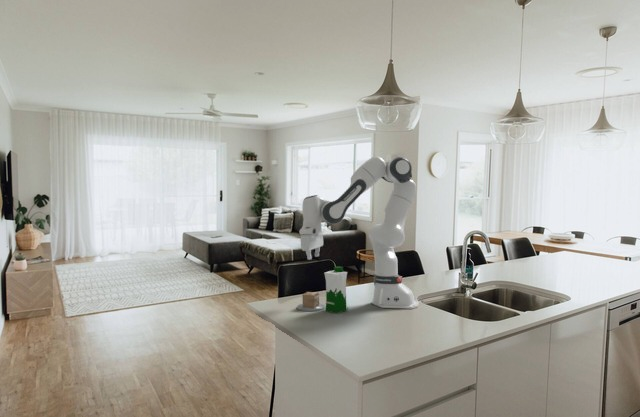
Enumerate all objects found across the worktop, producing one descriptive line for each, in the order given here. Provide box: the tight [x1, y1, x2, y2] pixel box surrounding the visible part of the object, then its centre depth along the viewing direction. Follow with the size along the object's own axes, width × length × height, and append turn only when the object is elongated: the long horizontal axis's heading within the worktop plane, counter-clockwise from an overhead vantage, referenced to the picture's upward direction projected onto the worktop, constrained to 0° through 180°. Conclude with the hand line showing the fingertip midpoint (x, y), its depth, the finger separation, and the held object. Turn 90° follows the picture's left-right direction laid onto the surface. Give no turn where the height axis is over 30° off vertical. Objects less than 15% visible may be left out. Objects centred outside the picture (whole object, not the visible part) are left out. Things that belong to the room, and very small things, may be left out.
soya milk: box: [323, 265, 348, 314], centre depth 193 cm, size 9×9×20 cm
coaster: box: [296, 302, 326, 312], centre depth 199 cm, size 13×13×1 cm
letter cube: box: [302, 291, 320, 308], centre depth 199 cm, size 6×6×6 cm
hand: (313, 257), depth 201 cm, fingers open, 8 cm apart
